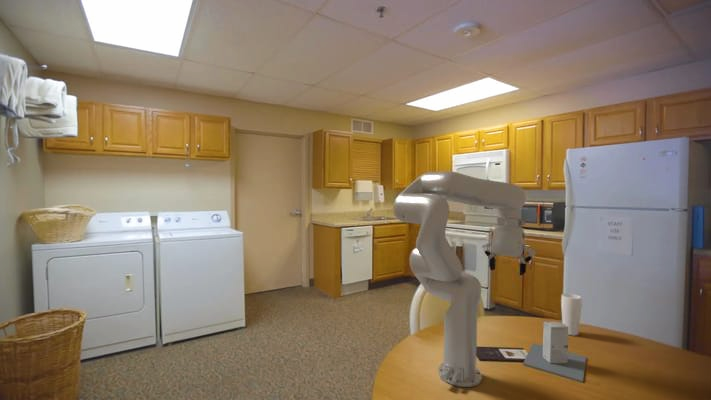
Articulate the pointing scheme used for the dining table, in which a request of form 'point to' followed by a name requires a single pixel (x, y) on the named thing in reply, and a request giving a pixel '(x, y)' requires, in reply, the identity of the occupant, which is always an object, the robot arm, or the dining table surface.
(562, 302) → the white hollow tapered cylinder
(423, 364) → the dining table surface
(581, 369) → the mat
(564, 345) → the skincare box
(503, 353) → the chocolate bar
